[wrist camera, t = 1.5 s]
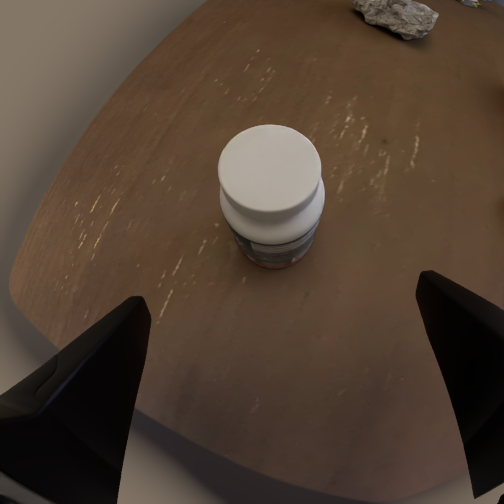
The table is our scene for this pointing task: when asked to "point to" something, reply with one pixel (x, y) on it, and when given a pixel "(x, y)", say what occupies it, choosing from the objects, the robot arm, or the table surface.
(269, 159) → the pill bottle
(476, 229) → the table surface
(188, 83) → the table surface
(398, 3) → the mineral specimen
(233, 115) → the table surface
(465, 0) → the mug
